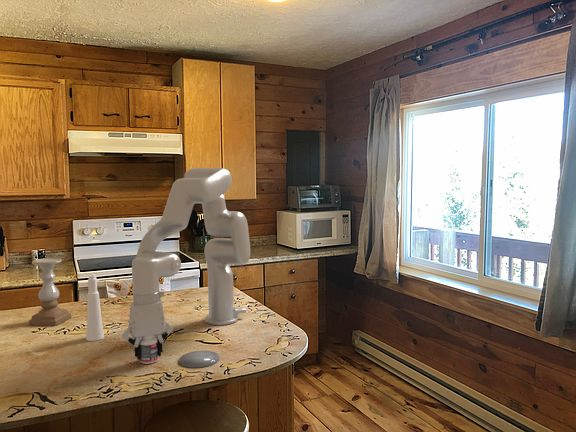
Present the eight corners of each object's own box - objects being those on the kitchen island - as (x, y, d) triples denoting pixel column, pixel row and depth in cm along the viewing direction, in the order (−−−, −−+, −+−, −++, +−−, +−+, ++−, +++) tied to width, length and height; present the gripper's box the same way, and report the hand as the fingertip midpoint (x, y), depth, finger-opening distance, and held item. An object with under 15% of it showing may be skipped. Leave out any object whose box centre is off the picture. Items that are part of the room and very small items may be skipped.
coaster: (212, 349, 155) (212, 347, 155) (224, 363, 144) (224, 361, 144) (175, 356, 150) (175, 354, 150) (184, 370, 139) (184, 368, 139)
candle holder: (71, 317, 191) (68, 257, 188) (55, 326, 180) (52, 263, 177) (45, 316, 192) (42, 257, 189) (28, 325, 181) (24, 262, 178)
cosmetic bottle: (81, 340, 165) (78, 276, 163) (94, 334, 170) (91, 273, 168) (96, 342, 163) (92, 278, 161) (108, 336, 168) (105, 274, 166)
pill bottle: (152, 364, 143) (151, 335, 142) (136, 363, 144) (135, 334, 143) (161, 357, 148) (160, 329, 148) (145, 356, 149) (144, 328, 149)
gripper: (172, 291, 151) (174, 347, 153) (114, 298, 144) (117, 357, 146) (177, 297, 145) (180, 355, 147) (117, 305, 137) (120, 366, 139)
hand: (148, 355), depth 146 cm, fingers closed on pill bottle, 5 cm apart
